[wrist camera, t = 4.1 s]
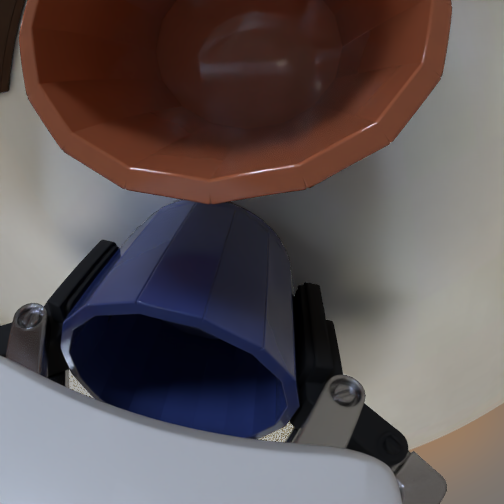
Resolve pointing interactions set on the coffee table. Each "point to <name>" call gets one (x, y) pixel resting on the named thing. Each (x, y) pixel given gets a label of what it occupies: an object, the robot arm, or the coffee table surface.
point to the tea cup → (229, 87)
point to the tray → (8, 37)
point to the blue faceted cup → (192, 323)
